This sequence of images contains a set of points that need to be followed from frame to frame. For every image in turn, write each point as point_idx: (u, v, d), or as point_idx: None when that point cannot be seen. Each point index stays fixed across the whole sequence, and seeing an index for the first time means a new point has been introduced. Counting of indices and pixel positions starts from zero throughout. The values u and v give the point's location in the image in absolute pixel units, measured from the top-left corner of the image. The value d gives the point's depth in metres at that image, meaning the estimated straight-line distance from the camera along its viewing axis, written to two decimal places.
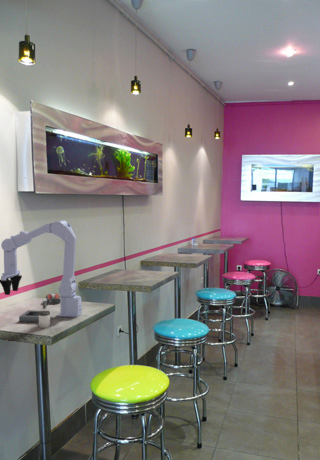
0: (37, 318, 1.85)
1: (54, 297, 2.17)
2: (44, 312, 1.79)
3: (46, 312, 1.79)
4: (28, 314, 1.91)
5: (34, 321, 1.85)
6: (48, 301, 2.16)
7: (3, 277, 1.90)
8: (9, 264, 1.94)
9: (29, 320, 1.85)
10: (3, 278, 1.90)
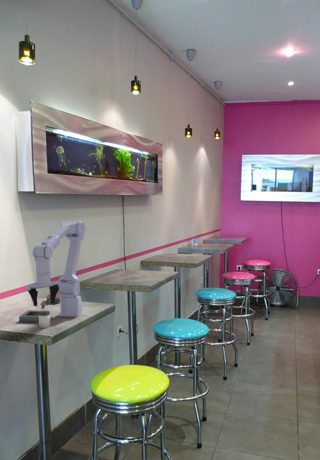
0: (37, 318, 1.85)
1: None
2: (44, 312, 1.79)
3: (46, 312, 1.79)
4: (28, 314, 1.91)
5: (34, 321, 1.85)
6: (48, 301, 2.16)
7: (27, 286, 1.74)
8: (49, 272, 1.78)
9: (29, 320, 1.85)
10: (27, 287, 1.74)
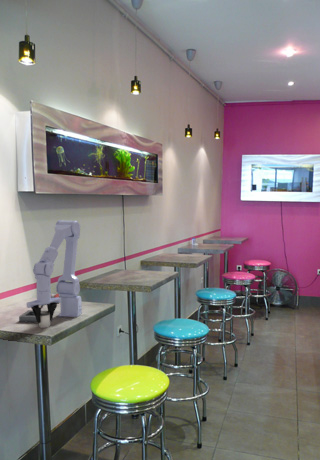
0: None
1: (53, 297, 2.17)
2: (44, 312, 1.79)
3: (46, 312, 1.79)
4: (28, 314, 1.91)
5: (34, 321, 1.85)
6: None
7: (27, 304, 1.74)
8: (50, 289, 1.78)
9: (29, 320, 1.85)
10: (27, 305, 1.74)
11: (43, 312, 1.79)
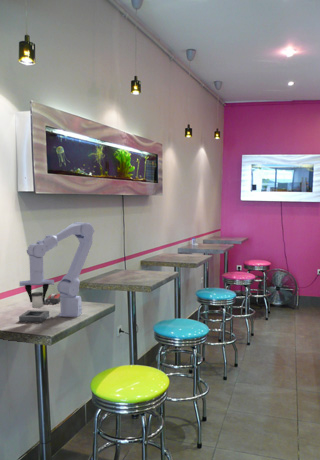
0: (37, 318, 1.85)
1: (53, 297, 2.17)
2: (37, 293, 1.85)
3: (38, 293, 1.85)
4: (28, 314, 1.91)
5: (34, 321, 1.85)
6: (46, 300, 2.17)
7: None
8: (41, 271, 1.83)
9: (29, 320, 1.85)
10: None
11: (36, 293, 1.85)
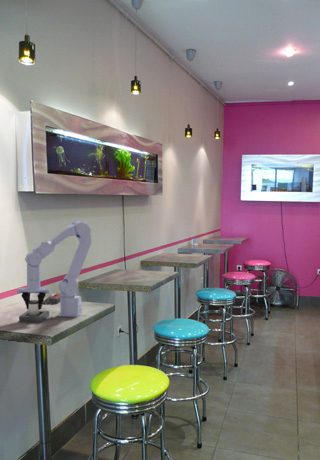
0: (37, 318, 1.85)
1: (52, 297, 2.17)
2: (33, 301, 1.89)
3: (35, 301, 1.88)
4: (28, 314, 1.91)
5: (34, 321, 1.85)
6: (46, 300, 2.17)
7: None
8: (36, 279, 1.86)
9: (29, 320, 1.85)
10: None
11: (33, 301, 1.89)
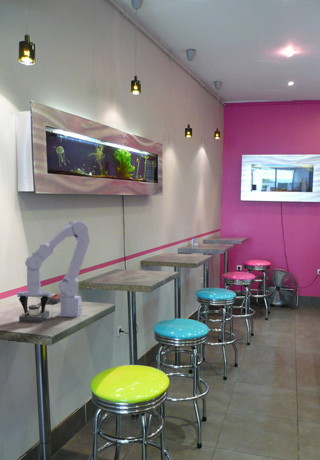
0: (37, 318, 1.85)
1: (52, 297, 2.18)
2: (34, 306, 1.89)
3: (35, 306, 1.88)
4: (28, 314, 1.91)
5: (34, 321, 1.85)
6: None
7: None
8: (36, 283, 1.86)
9: (29, 320, 1.85)
10: None
11: (33, 306, 1.89)
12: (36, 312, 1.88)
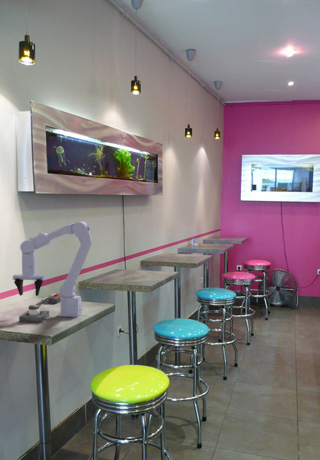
0: (37, 318, 1.85)
1: (52, 297, 2.18)
2: (33, 306, 1.89)
3: (35, 306, 1.88)
4: (28, 314, 1.91)
5: (34, 321, 1.85)
6: (46, 300, 2.18)
7: None
8: (28, 266, 1.92)
9: (29, 320, 1.85)
10: None
11: (33, 306, 1.89)
12: (36, 312, 1.88)
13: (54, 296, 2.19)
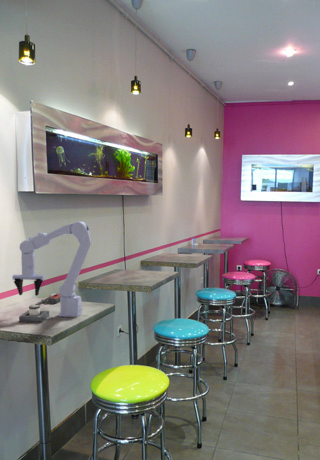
0: (37, 318, 1.85)
1: (52, 297, 2.18)
2: (34, 306, 1.89)
3: (35, 306, 1.89)
4: (28, 314, 1.91)
5: (34, 321, 1.85)
6: (45, 300, 2.18)
7: None
8: (27, 266, 1.92)
9: (29, 320, 1.85)
10: None
11: (33, 306, 1.89)
12: (36, 312, 1.88)
13: (54, 296, 2.19)
